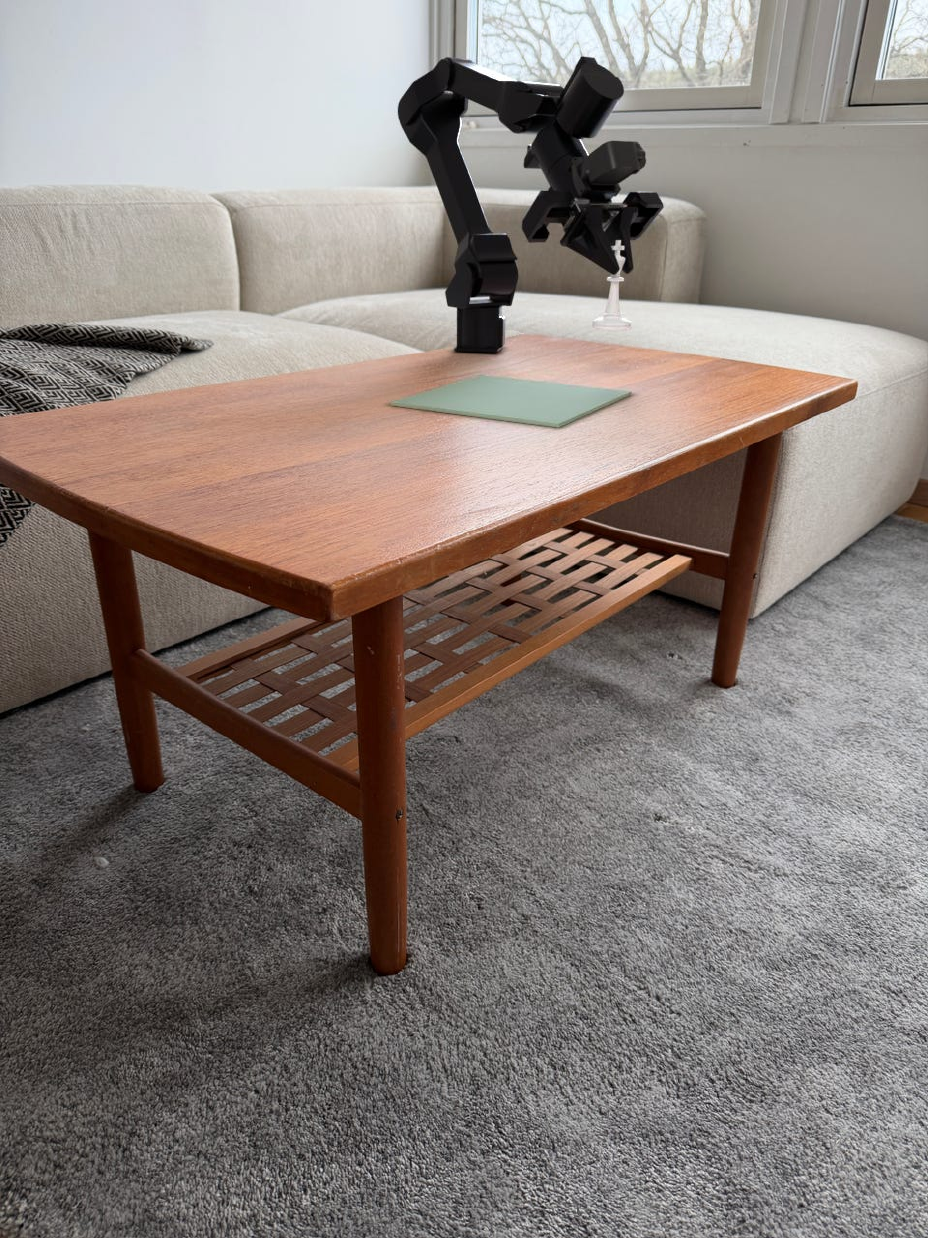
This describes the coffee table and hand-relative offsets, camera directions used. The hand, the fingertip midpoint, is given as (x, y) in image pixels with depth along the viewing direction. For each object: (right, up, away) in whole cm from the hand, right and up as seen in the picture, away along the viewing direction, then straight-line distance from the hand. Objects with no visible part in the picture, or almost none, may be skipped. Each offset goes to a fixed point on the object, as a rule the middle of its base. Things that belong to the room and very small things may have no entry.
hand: (623, 271), depth 109 cm
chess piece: (-1, -6, +4) cm, 7 cm away
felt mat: (-13, -17, -7) cm, 23 cm away
